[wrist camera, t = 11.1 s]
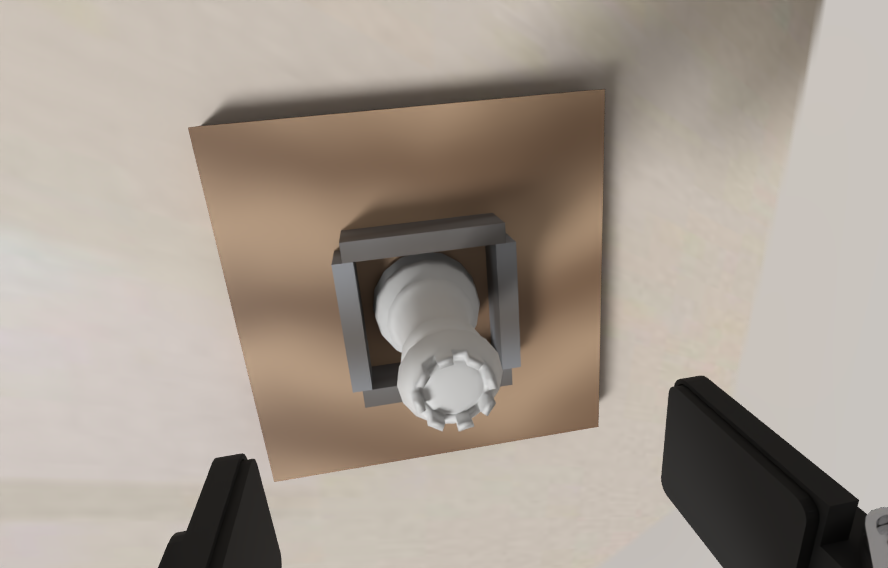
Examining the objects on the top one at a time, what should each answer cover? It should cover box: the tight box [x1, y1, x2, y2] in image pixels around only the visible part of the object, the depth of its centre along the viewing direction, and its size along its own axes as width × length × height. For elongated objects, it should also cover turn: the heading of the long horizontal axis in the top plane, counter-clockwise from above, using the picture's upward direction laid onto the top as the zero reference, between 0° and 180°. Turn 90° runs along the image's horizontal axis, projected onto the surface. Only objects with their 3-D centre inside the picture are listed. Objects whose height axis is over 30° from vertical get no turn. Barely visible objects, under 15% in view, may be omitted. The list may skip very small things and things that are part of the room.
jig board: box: [188, 89, 605, 482], centre depth 22 cm, size 16×16×4 cm
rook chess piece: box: [373, 252, 503, 431], centre depth 19 cm, size 4×4×8 cm
